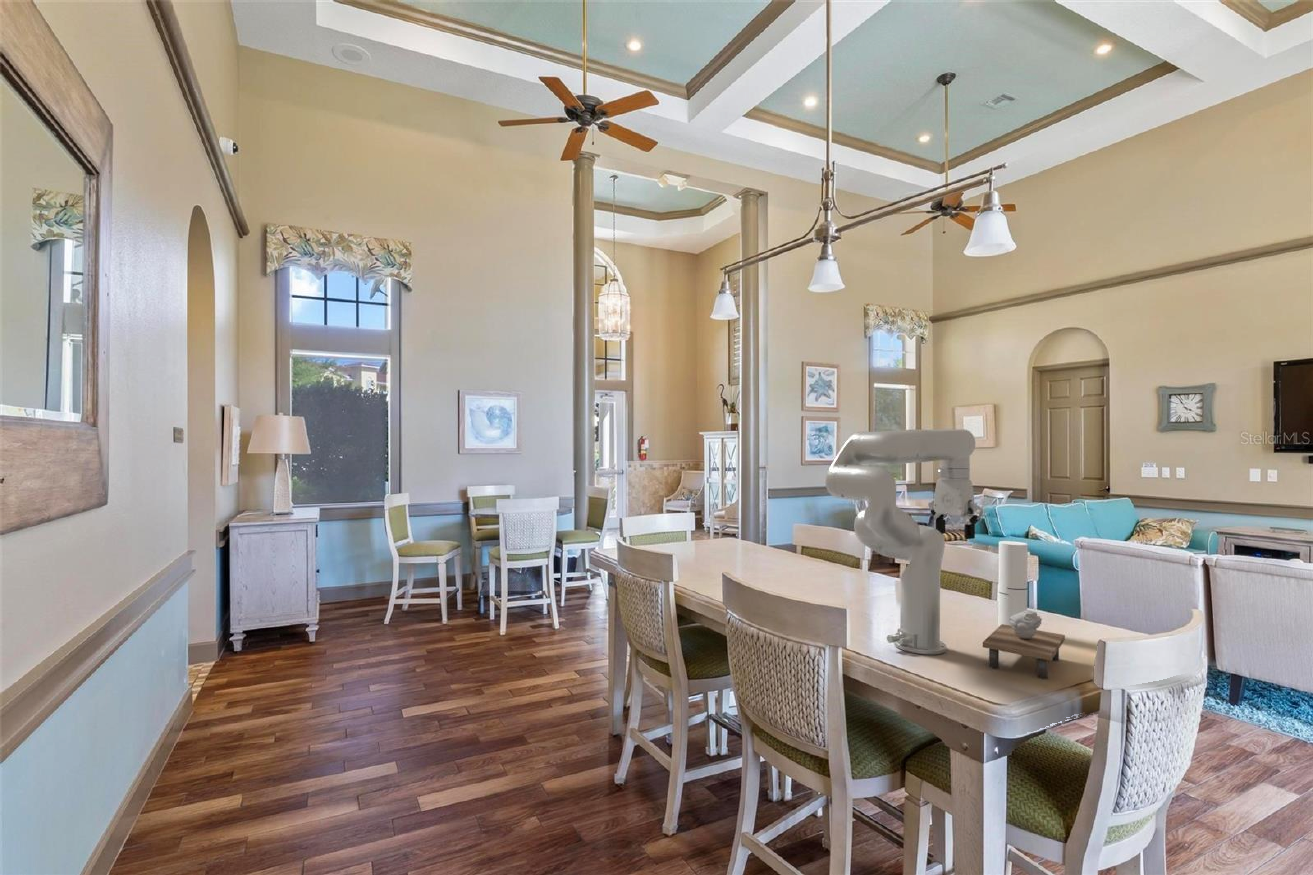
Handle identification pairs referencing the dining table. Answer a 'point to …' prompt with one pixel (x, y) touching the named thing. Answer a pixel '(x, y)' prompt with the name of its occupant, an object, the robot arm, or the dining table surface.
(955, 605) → the dining table surface
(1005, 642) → the walnut shelf
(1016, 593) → the cylindrical container
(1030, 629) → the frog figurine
